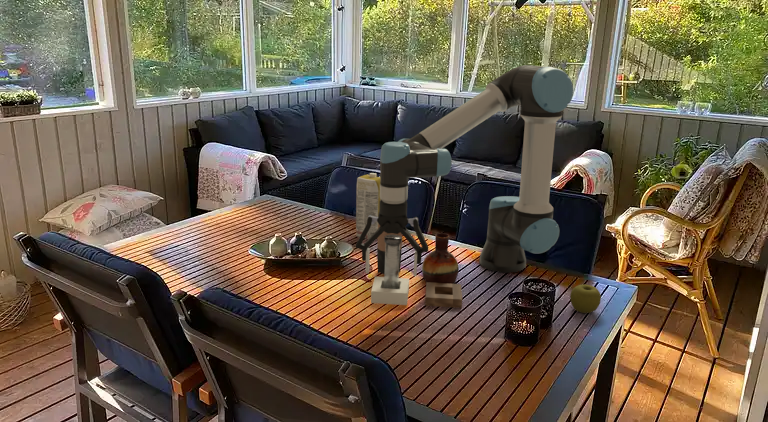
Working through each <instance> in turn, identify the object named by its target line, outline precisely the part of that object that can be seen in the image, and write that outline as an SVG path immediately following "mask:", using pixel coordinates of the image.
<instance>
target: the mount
mask: <svg viewBox="0 0 768 422" xmlns="http://www.w3.org/2000/svg"><path fill="white" fill-rule="evenodd" d="M425 282H426V281H425ZM424 302H425V303H424V305H425V306H427V307H439V308H441V307H442V308H443V307H444V308H458V309H462V308H463V293H462V284H461V283H453V284H448V283H432V282H426V283H425V301H424Z"/></svg>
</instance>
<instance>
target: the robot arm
mask: <svg viewBox="0 0 768 422" xmlns="http://www.w3.org/2000/svg"><path fill="white" fill-rule="evenodd" d="M573 95H574V86H573V82H572V79H571V78H570V76H569V75H568V74H567V72H566V71H564V70H562V69H560V68H556V67H553V66H548V65H547V66H543V65H533V64H532V65H531V64H524V65H519V66H516V67H514V68H511V69H510V70H508V71H506V72H504V73H503V74H501V75H499V76H497V78H495V79H493V80H492V81H490V82H489V83H487V85H486V86H485V89H484V90H483V91H481V92H480V93H478V94H476V95H475V96H474V97H472V98H470V99H469V100H467V101H466V102H465V103H462V105H460V106H458V107H457V108H455V109H454V110H452V111H451V112H449V113H448V114H446V115H445V116H443V117H441V118H440V119H439V120H437V121H436V122H434V123H433V124H430V125H429V126H428V127H426V128H425V129H423V130H422V131H420V132H419V133H416V134H415V135H414V136H413V137H411V138H405V137H404V138H401V139H399V140H398V141H388V142H385V143H384V144H383V145H381V150H380V159H379V161H380V164H379V165H380V166H379V167H380V168H379V170H380V172H379V173H380V174H379V177H380V199H381V200H380V205H379V217H374V216H372V215H369V216H368V219H367V225H366V226H365V228H364V230H363V232H362V234H361V236H360V237H358V240H357V241H356V244H355V248H356V249H360V250H361V260H362V262H365V274H369V272H370V255H371V254H370V253H371V252H370V250H371V248H370V247H371V245H372V244H373V243H374V242H375V241H376V240H378V237H379V236H380V235H381V234H382V233H383V232H386V233H394V234H398V233H401V234H402V237H404V238H405V240H407V242H408V243H409V244H410V246H411V248H413V250H414V253H413V256H414V259H413V277H417V270H418V265H421V264H422V255H423V253H429V252H428V251H429V246H428V243H427V241H426V239H425V236H424V234H423V232H422V229H421V228H420V226H419V217H417V216H414V217H413V218H412V217H411V218H408V201H407V200H408V198H409V197H408V196H409V195H408V192H409V191H408V190H409V179H415V178H433V177H435V178H438V177H443V176H447V175H448V174H449V173H450V172H451V170H452V163H453V160H452V156H451V153H450V151H449V150H448V149H447V148H445V147H446V146H448V145H449V144H451V143H453V142H454V141H456V140H457V139H458V138H460V137H462V136H463V135H465V134H466V133H467V132H469V131H471V130H472V129H474V128H475V127H477V126H478V125H480V124H481V123H483V122H484V121H486V120H488V119H489V118H491V117H492V116H494V115H495V114H497V113H498V112H503V113H504V112H506V111H508V110H509V109H511V108H514V107H517V106H520V109H519V110H520V112H519V116H520V117H521V118H522V119H523V120H524V131H523V144H522V154H521V155H522V157H521V158H522V159H521V171H520V187H519V196H512V195H511V196H510V195H509V196H508V195H506V196H505V195H504V196H496V197H494V198H491V200H490V203H489V206H488V217H487V218H488V220H487V233H486V241H485V244H484V246H483V248H482V250H481V252H480V255H479V264H480V266H482V267H483V268H484V269H487V270H489V271H493V272H496V271H497V273H504V274H505V273H506V274H508V273H509V274H511V273H510V272H514V273H518V271H519V272H521V270H522V271H523V269H524V268H525V269H526V266H527V257H526V253H525V251H527V252H529V253H530V254H543V253H545V252H548V251H549V250H550V249H551V248H552V247H553V246H555V244H556V243H557V241H558V239H559V237H560V227H559V224H558V223H557V222H556V220H554V219H553V218H554V207H553V206H552V204H551V203H550V194H551V193H550V192H551V180H552V171H553V157H554V150H555V137H556V125H557V122H558V121H559V120H560V119H561V118H562V117H563V113H564V112H563V110H565V109H566V108H567V107H568V105H569V104H570V103H571V101H572V99H573ZM376 221H377V222H378V223H379V225H380V227H379V228H378V230H377V231H376V232H375V233H374V234H373V235H372V236H371V237H370V238H369V239H366V238H365V236H366V235H367V233H368V231H369V229H370V227H371V224H374V223H375V222H376ZM408 224H410V227H413V229H414V233H415V234H416V237H417V239H418V241H419V243H420V244H419V243H418V242H417V240H416V238H414V236H413V235H412V234H411V233H410V232H409V229H408V228H407V225H408ZM365 239H366V241H365V242H364V240H365ZM363 242H364V243H363ZM525 269H524V270H525Z"/></svg>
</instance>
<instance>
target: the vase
mask: <svg viewBox="0 0 768 422" xmlns="http://www.w3.org/2000/svg"><path fill="white" fill-rule="evenodd" d="M434 238H435V239H434V240H435V244H434V245H435V246H434V250H432V251H431V252H428V254H427V255H426V256H425V257H424V259H423V261H422V263H421V264H422V265H421V271H422V272H421V273H422V277H423V279H424V281H425V282H432V283H448V284H455V282H456V281H457V279H458V275H459V269H460V268H459V262H458V260H457V258H456V256H455V255H454V254H452V253H451V252H450V251H449V250H448V247H449V242H450V235H449V234H447V233H445V232H444V233H443V232H441V233H435V237H434Z"/></svg>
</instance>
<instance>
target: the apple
mask: <svg viewBox="0 0 768 422" xmlns="http://www.w3.org/2000/svg"><path fill="white" fill-rule="evenodd" d="M601 295H602V294H601V293H600V290H599V289H598V288H597V287H595V286H593V285H590V284H578V285H576V286H575V287H573V288H572V290H571V292H570V295H569V296H570V297H569V299H570V304H571V306H572V308H573V310H575V311H577V312H579V313H581V314H591V313H593V312H595V311H596V310H597V309H598V307H600V304H601V301H602V296H601Z"/></svg>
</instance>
